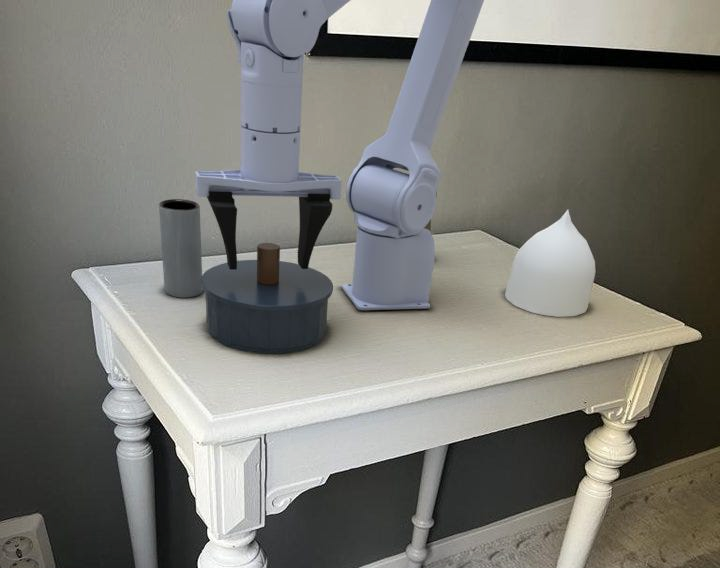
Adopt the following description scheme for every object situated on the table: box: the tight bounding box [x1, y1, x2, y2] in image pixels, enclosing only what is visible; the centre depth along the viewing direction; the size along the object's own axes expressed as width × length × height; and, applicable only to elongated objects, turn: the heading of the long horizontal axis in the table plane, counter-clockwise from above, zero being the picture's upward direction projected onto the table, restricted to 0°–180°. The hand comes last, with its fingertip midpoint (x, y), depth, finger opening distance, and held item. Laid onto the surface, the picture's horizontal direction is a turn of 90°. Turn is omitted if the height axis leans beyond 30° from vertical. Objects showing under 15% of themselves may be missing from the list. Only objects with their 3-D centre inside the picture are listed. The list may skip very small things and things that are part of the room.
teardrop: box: [504, 209, 596, 318], centre depth 95 cm, size 11×11×12 cm
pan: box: [205, 292, 329, 355], centre depth 81 cm, size 13×13×5 cm
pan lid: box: [201, 242, 334, 311], centre depth 79 cm, size 14×14×5 cm
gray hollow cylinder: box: [158, 198, 203, 298], centre depth 87 cm, size 4×4×10 cm
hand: (267, 266), depth 79 cm, fingers open, 7 cm apart
